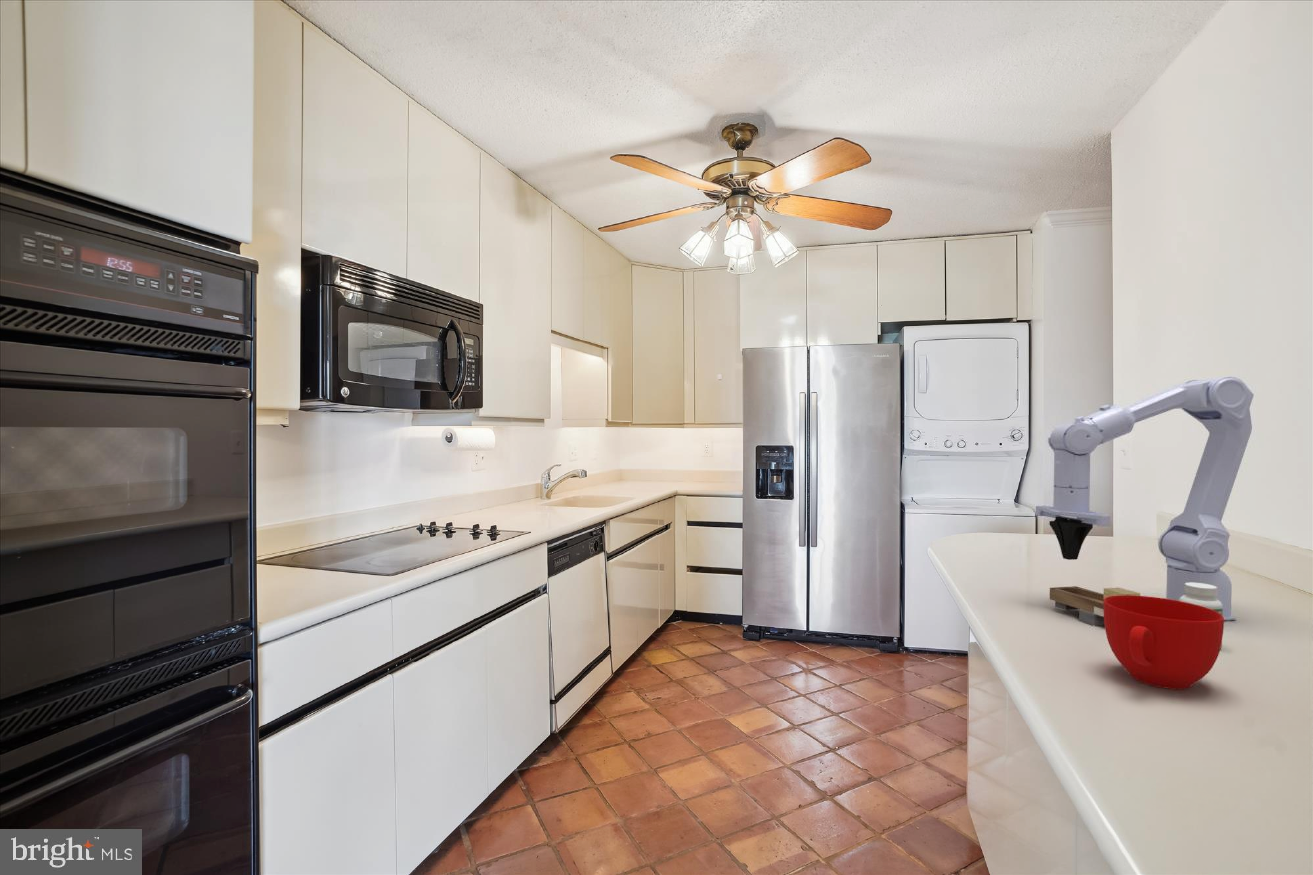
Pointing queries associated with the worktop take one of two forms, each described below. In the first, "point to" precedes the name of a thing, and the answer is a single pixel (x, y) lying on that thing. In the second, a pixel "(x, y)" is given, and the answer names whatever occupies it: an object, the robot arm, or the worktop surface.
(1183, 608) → the ceramic cup
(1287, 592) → the worktop surface
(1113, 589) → the tan wooden block
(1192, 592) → the supplement bottle
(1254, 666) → the worktop surface
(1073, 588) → the beam
